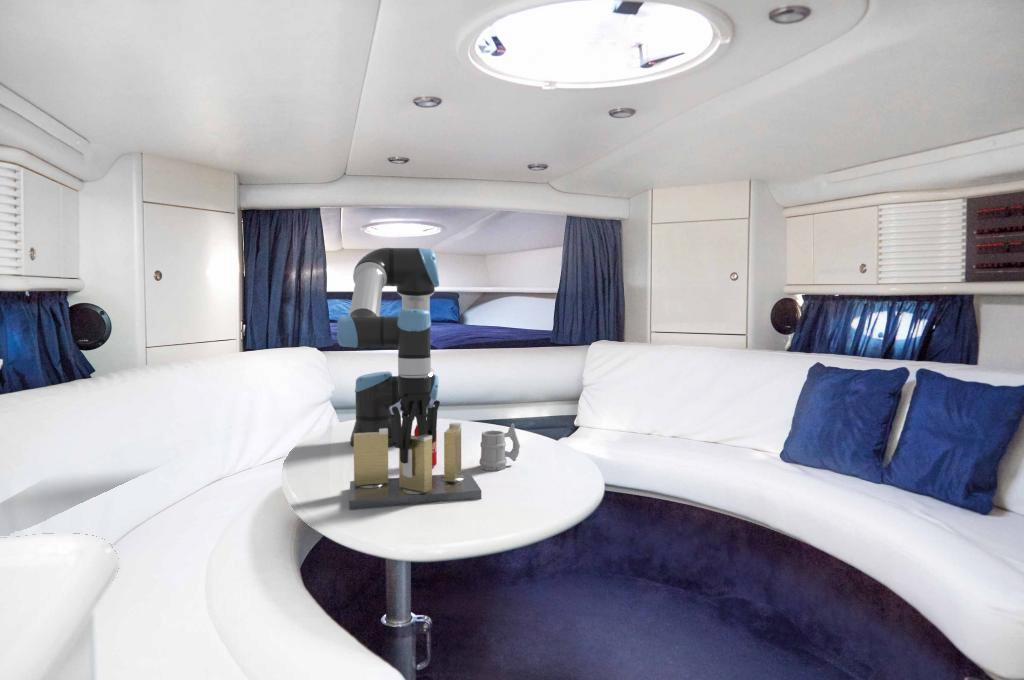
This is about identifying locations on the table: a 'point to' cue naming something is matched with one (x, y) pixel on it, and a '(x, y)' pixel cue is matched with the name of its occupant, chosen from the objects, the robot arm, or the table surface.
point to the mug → (497, 449)
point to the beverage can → (434, 447)
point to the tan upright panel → (452, 452)
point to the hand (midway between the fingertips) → (414, 474)
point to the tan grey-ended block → (418, 465)
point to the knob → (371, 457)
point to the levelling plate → (413, 492)
